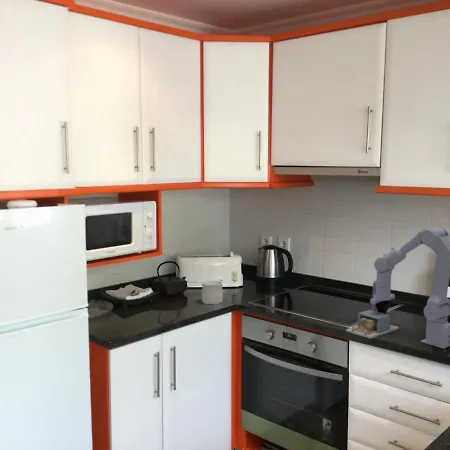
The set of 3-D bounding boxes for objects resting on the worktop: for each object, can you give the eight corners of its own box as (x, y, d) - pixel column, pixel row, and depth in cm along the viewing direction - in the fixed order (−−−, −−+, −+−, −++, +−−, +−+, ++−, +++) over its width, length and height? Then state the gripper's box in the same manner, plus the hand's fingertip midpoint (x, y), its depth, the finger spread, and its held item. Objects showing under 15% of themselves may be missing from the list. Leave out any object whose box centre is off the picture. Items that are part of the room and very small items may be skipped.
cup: (226, 302, 262) (226, 282, 261) (211, 306, 255) (212, 285, 254) (212, 298, 269) (212, 279, 268) (197, 302, 262) (198, 282, 261)
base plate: (398, 328, 224) (399, 322, 224) (370, 338, 211) (370, 331, 211) (374, 322, 233) (375, 315, 233) (346, 331, 220) (346, 324, 220)
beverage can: (369, 314, 245) (370, 281, 243) (376, 311, 249) (377, 279, 247) (381, 317, 241) (382, 284, 239) (387, 314, 245) (389, 281, 243)
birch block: (376, 330, 219) (376, 319, 219) (369, 332, 216) (369, 321, 216) (366, 327, 223) (367, 316, 222) (360, 329, 220) (360, 318, 219)
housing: (390, 328, 221) (390, 315, 220) (378, 332, 216) (379, 318, 215) (369, 322, 228) (369, 309, 228) (357, 326, 223) (358, 313, 223)
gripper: (385, 282, 231) (383, 313, 233) (364, 286, 222) (363, 319, 224) (399, 285, 226) (398, 317, 228) (379, 290, 217) (377, 323, 218)
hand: (381, 318), depth 225 cm, fingers closed
